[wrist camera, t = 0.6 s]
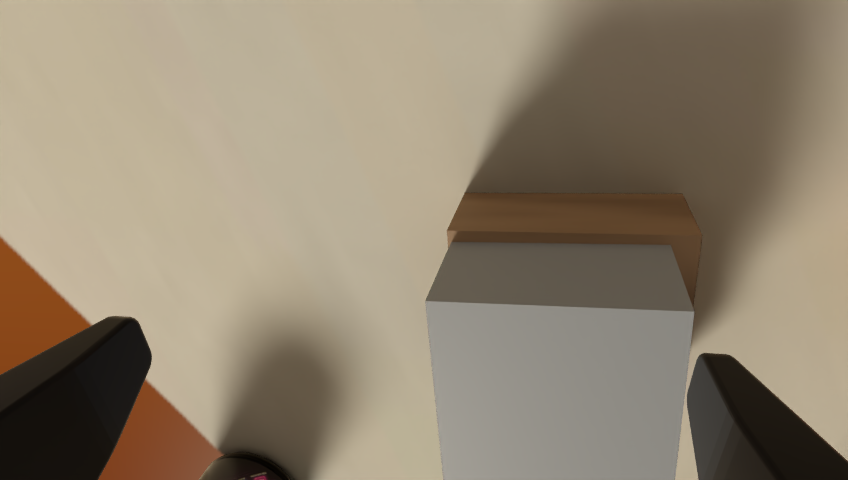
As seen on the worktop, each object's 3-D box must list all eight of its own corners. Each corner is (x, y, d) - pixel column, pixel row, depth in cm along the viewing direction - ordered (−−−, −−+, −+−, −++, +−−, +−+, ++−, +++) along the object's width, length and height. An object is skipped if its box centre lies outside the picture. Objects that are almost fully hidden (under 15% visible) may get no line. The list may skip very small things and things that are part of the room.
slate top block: (654, 419, 21) (671, 511, 17) (463, 404, 23) (443, 484, 19) (670, 244, 18) (693, 311, 15) (451, 241, 20) (425, 301, 16)
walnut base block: (661, 368, 25) (676, 436, 21) (474, 355, 27) (459, 415, 23) (681, 191, 21) (702, 235, 18) (466, 190, 23) (447, 230, 20)
